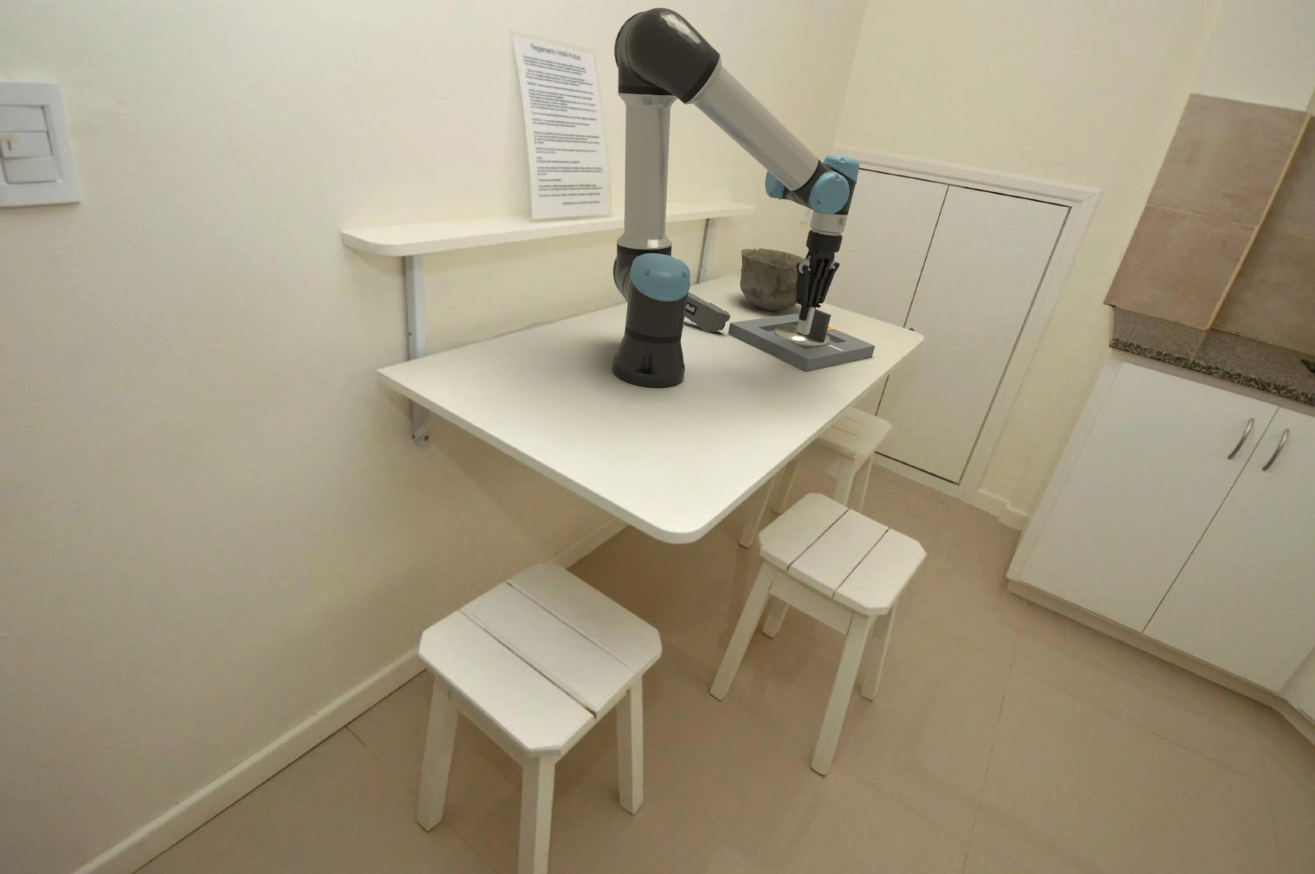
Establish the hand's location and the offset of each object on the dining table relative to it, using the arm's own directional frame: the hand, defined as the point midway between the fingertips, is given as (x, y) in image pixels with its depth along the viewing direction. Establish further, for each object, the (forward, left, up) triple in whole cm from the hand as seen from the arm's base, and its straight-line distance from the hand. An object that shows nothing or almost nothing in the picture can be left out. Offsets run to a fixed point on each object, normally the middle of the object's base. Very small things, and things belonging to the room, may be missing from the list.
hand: (802, 332), depth 157 cm
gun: (-13, +30, -6) cm, 33 cm away
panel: (+7, +5, -6) cm, 10 cm away
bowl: (+24, +32, -6) cm, 40 cm away
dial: (+7, +5, -4) cm, 9 cm away
